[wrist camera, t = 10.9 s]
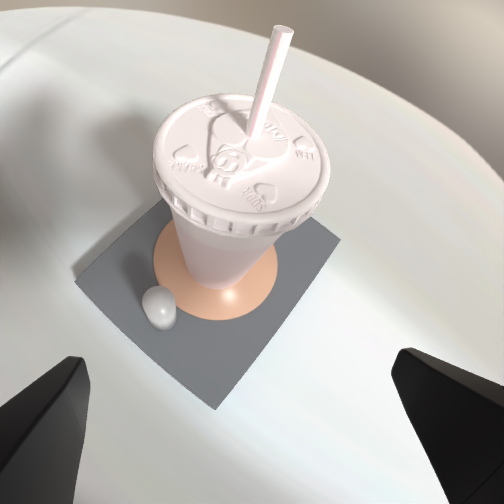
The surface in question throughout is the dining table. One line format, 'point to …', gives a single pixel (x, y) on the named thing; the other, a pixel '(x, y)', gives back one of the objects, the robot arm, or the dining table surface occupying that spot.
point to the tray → (201, 300)
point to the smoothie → (238, 174)
